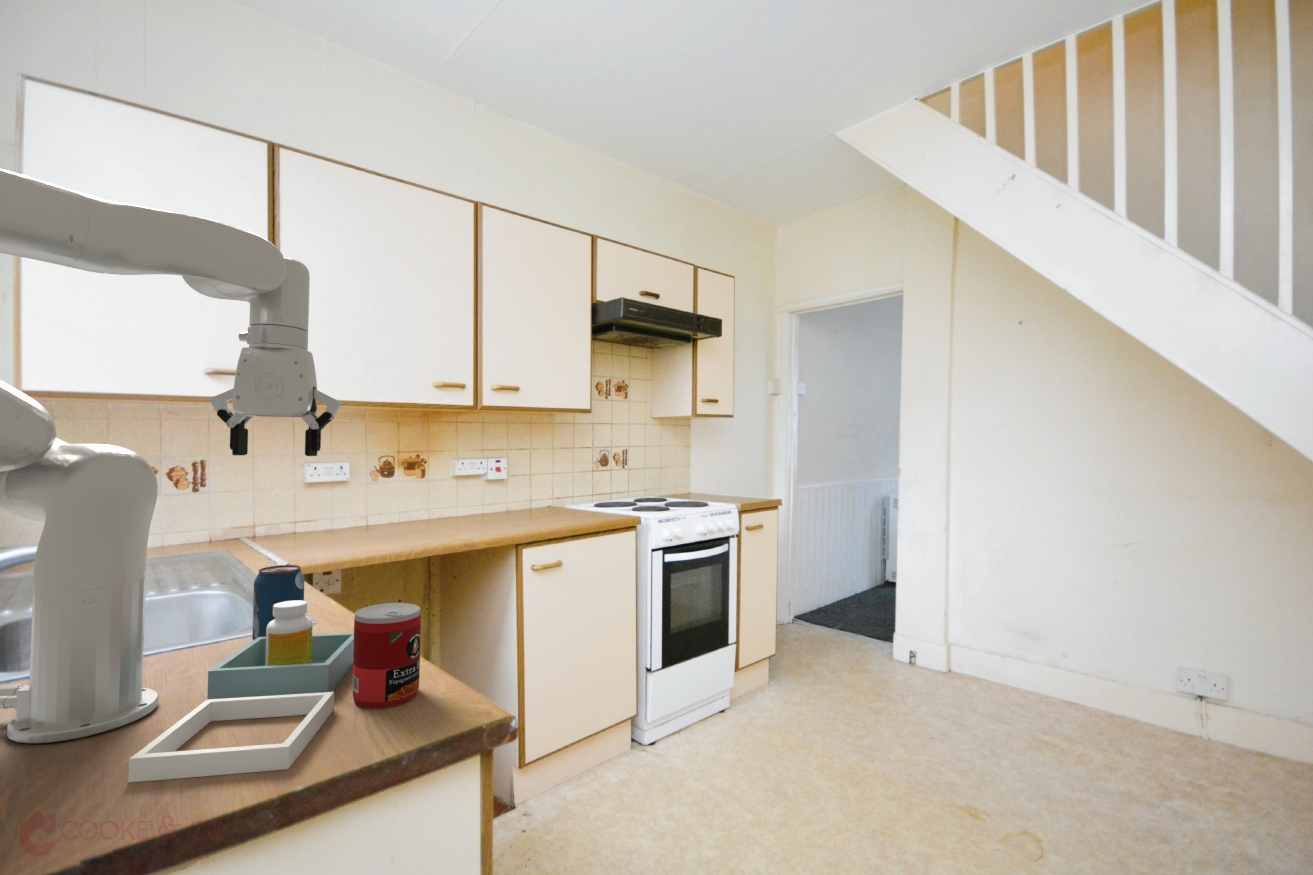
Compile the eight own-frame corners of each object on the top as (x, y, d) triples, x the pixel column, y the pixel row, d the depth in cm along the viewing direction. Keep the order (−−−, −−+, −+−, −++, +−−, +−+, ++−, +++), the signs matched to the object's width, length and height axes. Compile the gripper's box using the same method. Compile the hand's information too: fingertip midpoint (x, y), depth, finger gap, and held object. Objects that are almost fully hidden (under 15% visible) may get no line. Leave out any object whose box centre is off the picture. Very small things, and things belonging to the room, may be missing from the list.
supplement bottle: (317, 675, 82) (319, 603, 82) (272, 686, 78) (274, 610, 78) (303, 665, 85) (305, 596, 85) (259, 675, 81) (261, 603, 81)
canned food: (395, 712, 72) (397, 620, 72) (337, 706, 73) (339, 615, 74) (431, 688, 79) (433, 604, 80) (378, 682, 81) (380, 600, 81)
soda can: (312, 637, 99) (314, 565, 100) (280, 651, 93) (282, 573, 93) (275, 635, 100) (277, 563, 101) (241, 648, 94) (243, 571, 94)
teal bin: (207, 703, 73) (208, 670, 74) (257, 664, 87) (258, 636, 87) (328, 696, 76) (328, 664, 76) (358, 659, 89) (359, 632, 90)
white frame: (128, 782, 56) (129, 758, 56) (206, 718, 70) (206, 699, 70) (288, 769, 59) (288, 746, 59) (333, 710, 72) (334, 691, 72)
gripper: (200, 334, 85) (196, 455, 84) (333, 340, 88) (330, 456, 88) (227, 343, 92) (223, 454, 92) (348, 348, 96) (346, 456, 95)
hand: (275, 455), depth 90 cm, fingers open, 9 cm apart
